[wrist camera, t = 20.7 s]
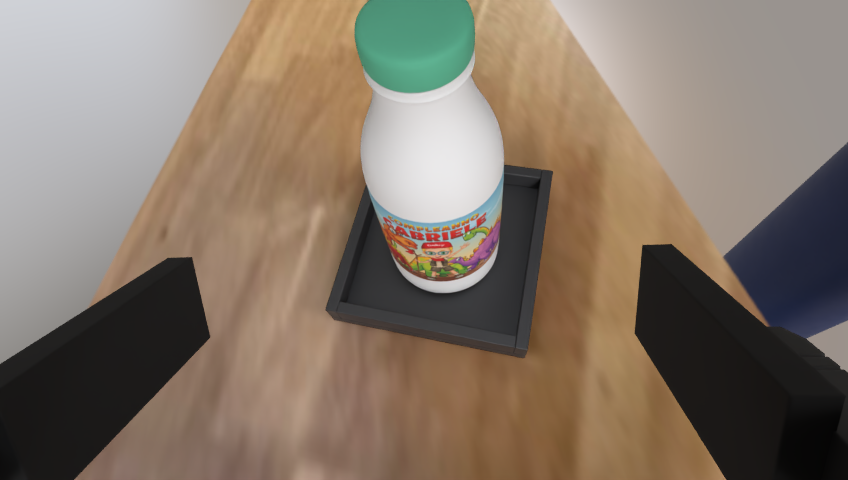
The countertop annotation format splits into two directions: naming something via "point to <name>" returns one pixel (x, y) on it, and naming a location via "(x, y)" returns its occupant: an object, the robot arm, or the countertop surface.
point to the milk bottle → (430, 142)
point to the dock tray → (458, 311)
